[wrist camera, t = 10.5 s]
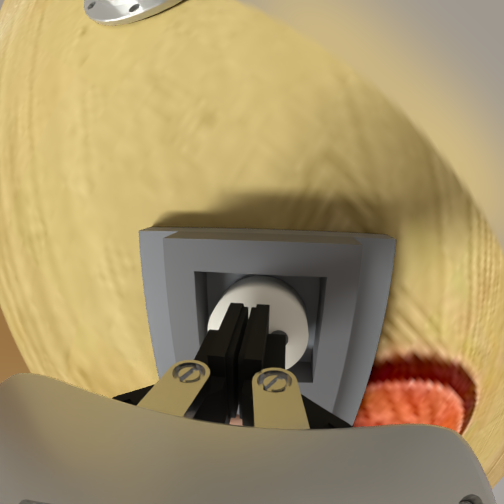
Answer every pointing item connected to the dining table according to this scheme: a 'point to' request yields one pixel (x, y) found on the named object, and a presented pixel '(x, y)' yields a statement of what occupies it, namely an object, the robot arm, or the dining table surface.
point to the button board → (289, 271)
